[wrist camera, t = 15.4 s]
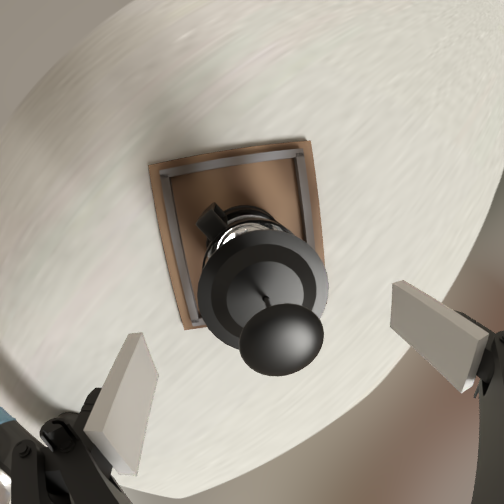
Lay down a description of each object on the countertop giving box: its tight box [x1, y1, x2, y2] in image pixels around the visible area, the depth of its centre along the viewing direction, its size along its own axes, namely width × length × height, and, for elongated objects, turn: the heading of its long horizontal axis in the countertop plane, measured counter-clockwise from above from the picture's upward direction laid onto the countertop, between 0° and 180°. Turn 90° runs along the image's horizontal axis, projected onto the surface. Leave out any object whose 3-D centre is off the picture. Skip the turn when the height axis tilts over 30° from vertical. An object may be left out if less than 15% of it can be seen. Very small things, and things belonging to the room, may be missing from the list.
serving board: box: [148, 141, 327, 330], centre depth 35 cm, size 20×22×2 cm
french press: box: [196, 202, 329, 376], centre depth 24 cm, size 12×9×23 cm
